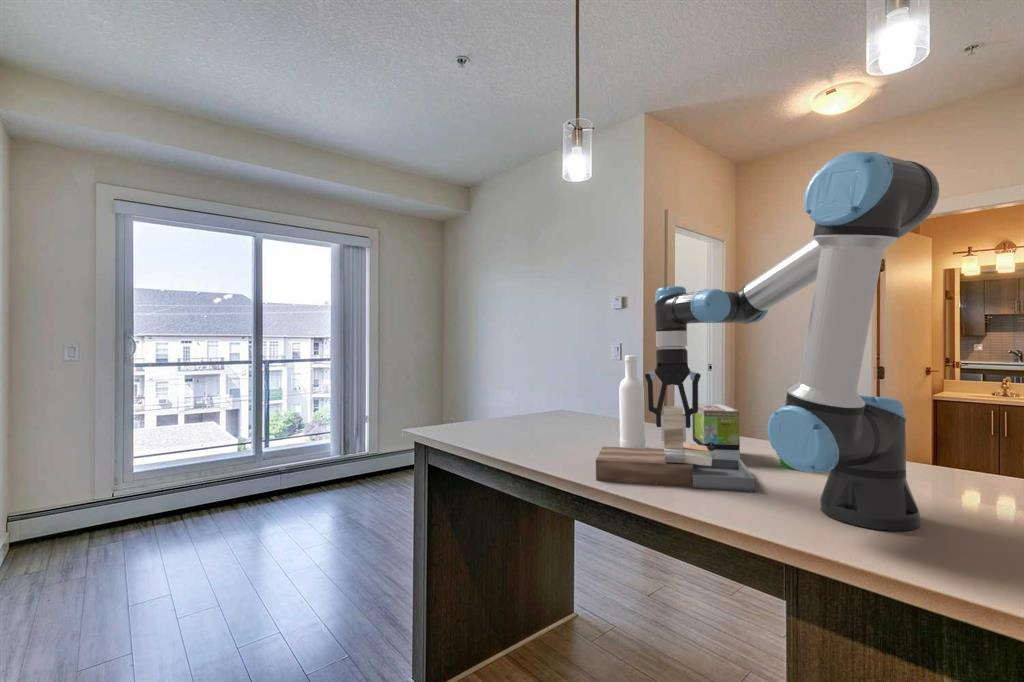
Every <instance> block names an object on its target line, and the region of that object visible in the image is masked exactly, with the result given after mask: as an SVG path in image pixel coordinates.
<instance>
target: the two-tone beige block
mask: <svg viewBox="0 0 1024 682" xmlns="http://www.w3.org/2000/svg"><path fill="white" fill-rule="evenodd" d="M683 409H684V408H683V407H682V406H672V405H671V406H670V405H669V406H667V405H664V406H663V414H664V441H663V449H664V453H665V462H675V463H685V454H684V450H683V443H684V442H683V414H684V412H683Z"/></svg>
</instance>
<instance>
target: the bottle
mask: <svg viewBox="0 0 1024 682" xmlns="http://www.w3.org/2000/svg"><path fill="white" fill-rule="evenodd" d="M637 357H638V356H637V355H633V354H631V355H629V354H628V355H624V366H625V367H624V368H625V371H624V372H625V374H624V375H625V376H624V378H623V379H622V380H621V381H620V383H619V387H618V400H619V401H618V402H619V405H618V407H619V411H618V412H619V447H625V448H646V429H645V428H646V426H645V423H646V421H645V420H646V419H645V418H646V417H645V387H644V385H643V381H642V380H641V379H639V378H638V367H637V365H638V363H637V362H638V359H637Z"/></svg>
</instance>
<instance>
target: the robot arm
mask: <svg viewBox="0 0 1024 682" xmlns="http://www.w3.org/2000/svg"><path fill="white" fill-rule="evenodd" d="M939 197H940V184H939V182H938V179H937V176H936V175H935V173H934V172H932V170H931V169H930V168H928V167H926V166H925V165H924V164H921V163H918V162H916V161H913V160H912V161H911V160H905V159H901V158H896V157H892V156H888V155H884V154H883V153H881V152H878V151H877V152H876V151H869V152H867V151H861V150H859V151H857V150H856V151H850V152H849V151H848V152H845V153H842V154H839V155H838V156H835V157H834V158H831V159H830V160H829V161H827V162H826V163H825V164H824V165H823V166H822V167H821V168H820V169H818V170H817V171H816V172H815V174H814V175H813V176H812V177H811V178H810V180H809V182H808V185H807V187H806V189H805V191H804V198H803V204H804V205H803V206H804V210H805V212H806V213H807V214H808V217H809V218H810V220H812V221H813V222H814V223H815V225H814V229H813V236H812V239H811V240H809V241H808V242H807V243H805V244H804V245H803V246H801V247H799V248H798V249H797V250H795V251H794V252H792V253H790V254H789V255H788V256H786V257H785V258H784V259H782V260H781V261H779V262H778V263H776V264H775V265H773V266H772V267H770V268H769V269H766V271H764V272H763V273H761V274H760V275H759V276H757V277H755V278H754V279H752V280H751V281H750V282H749V283H747V284H746V285H744V286H743V287H741V288H740V289H738V290H736V291H724V290H722V289H719V288H705V289H702V290H698V291H692V292H687V289H686V287H685V286H676V285H675V286H674V285H673V286H662V287H659V288H657V290H655V295H654V296H655V299H654V300H655V301H654V307H655V308H654V310H655V311H654V312H655V315H654V316H655V347H657V348H658V349H656V350H655V352H656V353H655V354H656V355H655V357H656V359H655V361H656V366H655V367H654V370H652V371H651V372H646V373H645V374H644V377H645V379H646V382H647V397H648V398H647V403H648V412H651V413H653V414H655V417H656V418H655V421H656V423H655V426H656V427H657V428H660V438H661V439H660V441H662V442H664V413H662V410H663V407H664V406H663V405H664V399H665V398H666V397H665V396H666V392H667V387H668V386H670V385H671V386H672V385H674V386H677V388H678V391H679V396H680V399H681V403H682V405H683V407H682V408H683V409H684V413H683V443H686V442H687V429H690V428H691V425H692V424H691V421H692V420H691V416H692V414H693V413H697V412H698V405H699V381H700V379H701V374H700V373H699V372H695V371H692V370H691V369H690V368H689V366H688V365H689V363H688V362H689V361H688V357H689V356H688V350H687V348H686V347H688V324H705V323H707V324H725V323H726V324H727V323H728V324H730V323H731V324H745V325H747V324H748V325H749V324H751V323H752V324H753V323H758V322H760V321H762V320H763V319H764V318H765V317H766V315H767V313H768V312H769V309H771V308H772V307H774V306H775V305H777V304H779V303H780V302H782V301H785V300H786V299H787V298H789V297H791V296H793V295H794V294H796V293H797V292H799V291H801V290H803V289H805V288H807V287H808V286H810V285H811V284H813V283H814V282H815V285H814V289H813V291H814V292H813V296H812V302H811V307H810V308H811V309H810V314H809V318H808V319H809V322H808V326H807V327H808V328H807V332H806V338H805V343H804V349H803V356H802V362H801V366H800V367H801V368H800V374H799V379H798V382H797V383H796V384H793V385H792V386H790V387H789V388H788V389H787V392H786V398H785V399H786V400H785V404H784V406H781V407H779V408H778V409H777V410H776V411H774V412H773V413H772V414H771V415H770V417H769V420H768V423H767V437H768V440H769V443H770V445H771V447H772V449H773V450H775V452H776V455H777V457H778V458H779V460H780V459H781V460H782V461H783V462H785V463H786V464H787V465H789V466H790V467H792V468H794V469H796V470H795V471H800V472H804V473H826V472H829V474H828V476H827V479H826V482H825V484H824V487H823V490H822V493H821V496H820V511H821V512H822V513H823V514H825V516H828V517H830V518H832V519H834V520H836V521H840V522H843V523H846V524H849V525H853V526H858V527H862V528H867V529H872V530H873V529H874V530H881V531H893V532H896V531H897V532H898V531H900V532H902V531H904V532H905V531H912V530H915V529H918V528H919V527H920V526H921V513H920V510H919V508H918V505H917V503H916V500H915V497H914V495H913V492H912V491H911V488H910V485H909V483H908V480H907V449H906V448H907V447H906V443H907V441H906V439H907V438H906V422H907V417H906V416H905V407H904V404H903V402H901V401H900V400H899V399H897V398H890V397H883V396H882V397H880V396H871V395H860V394H859V393H858V391H857V390H858V386H859V380H860V376H861V370H862V365H863V359H864V355H865V348H866V345H867V338H868V335H869V334H868V333H869V330H870V329H869V328H870V323H871V319H872V312H873V308H874V301H875V298H876V292H877V291H876V290H877V288H878V287H877V286H878V280H879V275H880V272H881V271H880V270H881V266H882V260H883V255H884V252H885V250H886V249H887V248H888V247H890V246H891V245H893V244H894V243H896V242H897V241H898V240H899V239H900V238H902V237H903V236H905V235H907V234H908V233H910V232H911V231H912V230H914V229H915V228H917V227H919V226H921V224H922V223H924V222H925V221H926V219H928V218H929V216H930V215H931V214H932V212H933V211H934V209H935V207H936V206H937V203H938V201H939ZM656 376H657V378H658V379H659V380H660V382H661V386H660V391H659V395H658V401H657V404H656V407H655V406H654V384H653V381H654V380H655V377H656ZM688 376H690V380H691V381H692V382H691V392H692V393H691V396H692V397H691V401H692V402H691V406H692V407H691V408H690V406H689V403H688V398H687V395H686V391H685V386H684V381H685V380H686V379H687V377H688Z"/></svg>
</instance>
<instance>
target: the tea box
mask: <svg viewBox="0 0 1024 682" xmlns="http://www.w3.org/2000/svg"><path fill="white" fill-rule="evenodd" d="M691 416H692V418H691V419H692V420H691V421H692V444H694V445H702V446H707V448H708V451H709V453H710V455H711V457H712V458H718V459H738V460H741V457H740V456H741V455H740V453H741V450H740V447H741V441H740V436H741V435H740V434H741V431H740V430H741V429H740V427H741V426H740V421H741V420H740V419H741V418H740V410H739V409H735V408H734V407H730V406H727V405H725V404H698V412H697V413H693V414H691Z"/></svg>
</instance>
